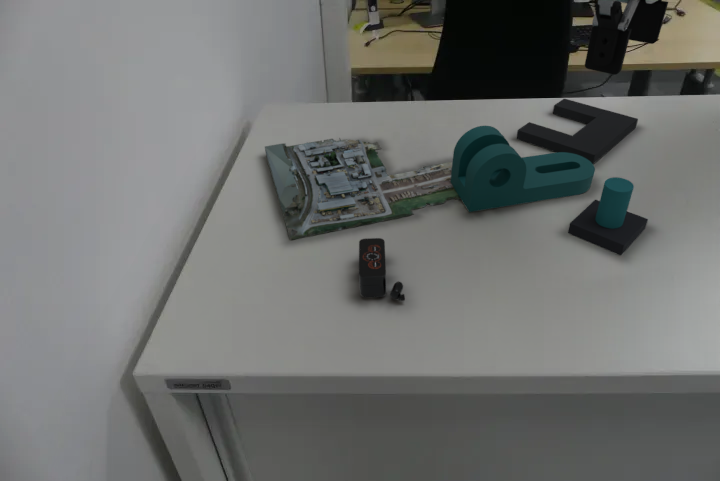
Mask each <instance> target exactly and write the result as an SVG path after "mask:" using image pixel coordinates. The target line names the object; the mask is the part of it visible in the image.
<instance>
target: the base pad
mask: <svg viewBox="0 0 720 481" xmlns="http://www.w3.org/2000/svg"><path fill="white" fill-rule="evenodd" d="M552 114H553V115H556V116H559V117H563V118H566V119H569V120H572V121H576V122H579V123H582V124H585V125H584V126H583V127H582V128H580V129H579V130H578V131H576V132H575V133H574V134H573V135H572V134H568V133H565V132H563V131H559V130H555V129H553V128H550V127H546V126H543V125H540V124H536V123H533V122H530V121H529V122H527V123H526V124H524V125H522V126H521V127H520V128H518V129H517V132H516V140H519V141H522V142H525V143H528V144H531V145H534V146H537V147H539V148H543V149H546V150H549V151H551V152H553V153H557V152H566V153H573V154H577V155H580V156H582V157H584V158H586V159H588V160H589V161H590V162H591V163H592V164H593V165H595V163H596V162H598V161H599V160H600V159H601V158H602V157H603V156H605V155H606V154H607V153H608V152H609V151H611V150H612V149H613V148H614V147H615V146H616V145H618V143H620V142H621V141H622V140H623V139H624V138H626V137H627V136H628V135H629V134H630V133H632V131H633V130H635V129H636V128H637V125H638V121H639V118H637V117H633V116H630V115H627V114H622V113H620V112H615V111H612V110H608V109H603V108H600V107H597V106H593V105H589V104H586V103H582V102H579V101H576V100H572V99H568V98H562V99H561V100H559V101H558V102H557V103H554V104H553V110H552Z"/></svg>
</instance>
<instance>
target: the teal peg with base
mask: <svg viewBox="0 0 720 481" xmlns="http://www.w3.org/2000/svg"><path fill="white" fill-rule="evenodd" d="M634 188H635V185H634V183H632V181H630V180H629V179H626V178H623V177H614V176H613V177H609V178H607V179H605V181H604V183H603V187H602V191H601V194H600V198H599V200H598V199H594V200H593V201H592V202H590V204H589V205H587V207H585V208H584V209H583V210H582V211H581V212H580V213H579V214H578V215H577V216H576V217H575V218H573V220H571V222H569V226H568V230H567V234H569V235H571V236H573V237H576V238H578V239H581V240H583V241H585V242H588V243H590V244H592V245H595V246H597V247H599V248H602V249H603V250H607V251H609V252H611V253H613V254H616V255H619V256H622V255H623V254H624V253H625V252H626V251H627V250H628V249H629V247H631V245H632V244H633V243H634V242H635V241H636V240H637V239H638V238H639V236H640V235H641V234H642V233H643V232H644V231H645V229H646V227H647V224H648V222H649V219H648V218H646V217H643V216H641V215H638V214H635V213H634V212H633V213H632V212H631V211H628V208H629V205H630V202H631V198H632V195H633V192H634Z"/></svg>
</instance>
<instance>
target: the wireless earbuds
mask: <svg viewBox="0 0 720 481" xmlns="http://www.w3.org/2000/svg"><path fill="white" fill-rule="evenodd" d="M386 264H387V263H386V243H385V240H384V239H383V238H381V237H376V238H375V237H371V238H362V239H359V241H358V282H359V283H358V284H359V294H360V295H361V297H362V298H366V299H367V298H370V299H371V298H384V297H385V296H386V294H387V265H386ZM403 289H404V284H403V283H402V282H401V281H399V280H398V281H396V282H395V283H394V284H393V286H392V288H391V291H390V294H389V296H390V298H391V299H393V300H395V301H396V300H398V301H400V302H404V301H406V295H405V294H404V293H402V292H403Z"/></svg>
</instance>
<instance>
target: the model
mask: <svg viewBox="0 0 720 481" xmlns="http://www.w3.org/2000/svg"><path fill="white" fill-rule="evenodd" d="M381 149H382V147H381V146H380V144H379V142H378V141H376V142H373V143H371V142H366V141H363V140H361V139H356V140H355V139H341V137H339V140H335V139H334V138H328V139H323V140H317V141H310V142H304V143H300V144H299V143H298V144H293V145H288V146H287V143H276V144H270V145H265V146H264V152H265V156H266V160H267V163H268V164H267V165H268V167H269V170H270V174H271V177H272V178H271V179H272V181H273V184H274V188H275V191H276V195H277V198H278V202H279V206H280V209H281V212H282V216H283V218H284V223H285V227H286V229H287V230H286V231H287V234H288V237H289V240H290V241H293V240H297V239H302V238H306V237H313V236H317V235H321V234H322V235H323V234H326V233H331V232H337V231H341V230H345V229H351V228H355V227H356V228H357V227H360V226H365V225H370V224H375V223H379V222H385V221H390V220H395V219H400V218H404V217H405V218H406V217H409V216H413V215H415V214H414V212H413V211H414V210H418V209H423V208H425V207H426V206H427V205H429V206H431V207H433V206H437V205H442V204H445V203H446V202H447V201H448V200H449V201H450V200H453V199H454V200H458V201H460V200H461V198H460V197H459V195H458V193H457V192H456V190H455V189H454V187H453V185H452V184H451V182H450V181H451V172H452V162H453V160H452V161H448V162H442V163H437V164H432V165H426V166H423V167H421V168H418V169H416V170H411V171H406V172H400V173H395V174H388V173H387V168H386V166H385V165H384V163H383V161H382V160H381V158H380V157H379V155H378V154H379V152H378V151H376V150H381ZM412 210H413V211H412Z"/></svg>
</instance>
